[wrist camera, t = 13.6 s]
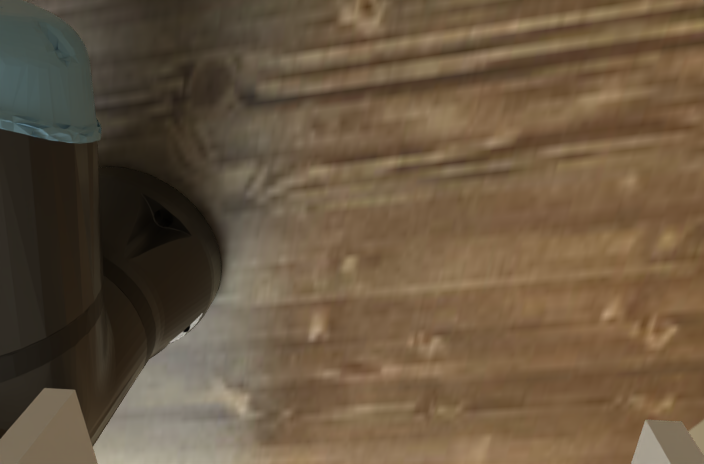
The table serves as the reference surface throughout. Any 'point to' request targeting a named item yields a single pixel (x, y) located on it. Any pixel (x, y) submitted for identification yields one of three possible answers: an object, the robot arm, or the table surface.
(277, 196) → the table surface
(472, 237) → the table surface
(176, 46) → the table surface
